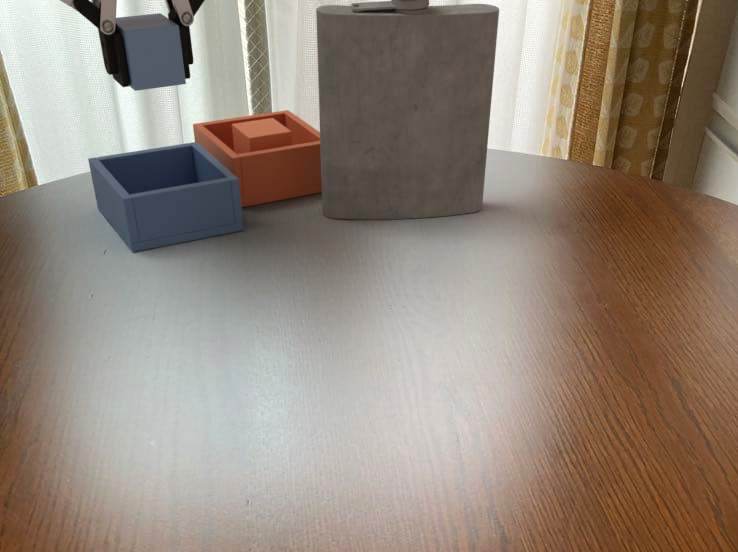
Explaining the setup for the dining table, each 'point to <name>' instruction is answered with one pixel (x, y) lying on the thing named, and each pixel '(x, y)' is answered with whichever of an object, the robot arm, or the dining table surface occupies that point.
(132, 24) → the blue block
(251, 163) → the terracotta bin
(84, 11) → the robot arm
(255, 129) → the terracotta block
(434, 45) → the hip flask
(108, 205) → the blue bin
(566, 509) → the dining table surface
